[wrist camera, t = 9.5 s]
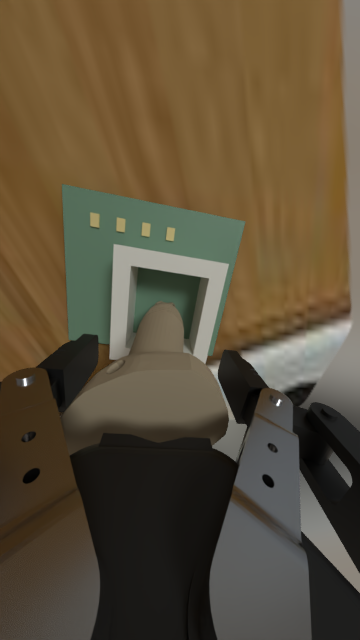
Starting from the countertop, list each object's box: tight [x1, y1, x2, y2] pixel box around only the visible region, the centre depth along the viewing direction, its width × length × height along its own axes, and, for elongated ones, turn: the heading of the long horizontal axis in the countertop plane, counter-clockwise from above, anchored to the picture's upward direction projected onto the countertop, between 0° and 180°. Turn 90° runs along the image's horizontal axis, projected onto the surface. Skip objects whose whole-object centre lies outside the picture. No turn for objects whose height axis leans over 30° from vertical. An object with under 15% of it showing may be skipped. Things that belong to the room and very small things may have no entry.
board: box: [62, 184, 245, 356], centre depth 20 cm, size 16×18×1 cm
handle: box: [60, 301, 229, 455], centre depth 14 cm, size 5×6×15 cm
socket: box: [109, 244, 229, 364], centre depth 19 cm, size 12×10×4 cm
